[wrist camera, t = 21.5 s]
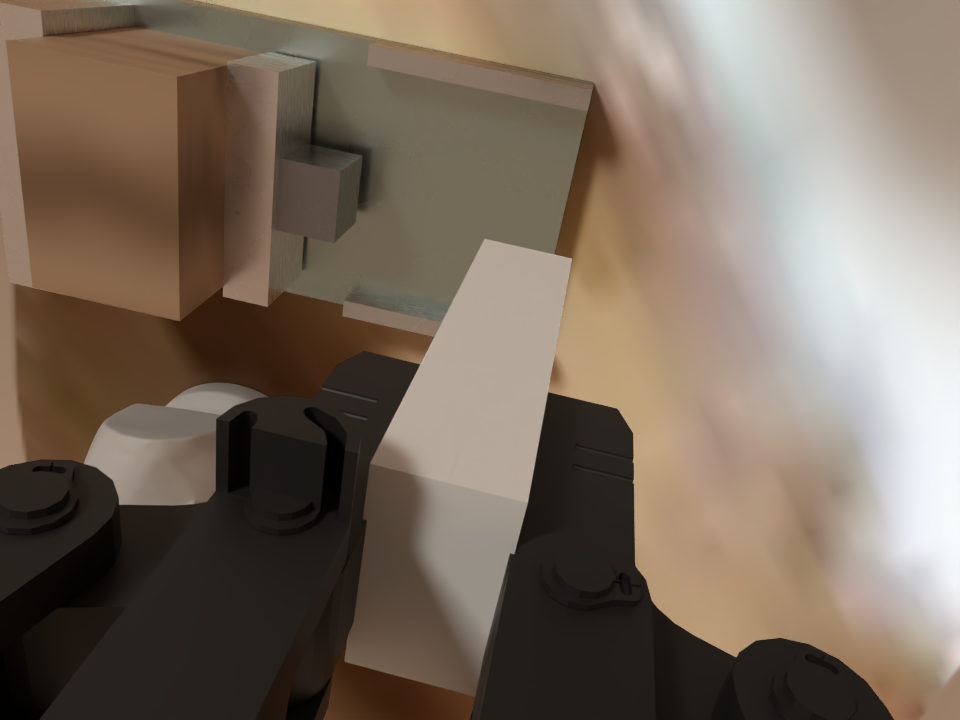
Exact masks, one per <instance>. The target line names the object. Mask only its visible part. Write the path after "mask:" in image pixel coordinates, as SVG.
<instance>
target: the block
mask: <svg viewBox="0 0 960 720" xmlns="http://www.w3.org/2000/svg"><path fill="white" fill-rule="evenodd" d="M6 47H7V56H8V65H9V75H10V84H11V93H12V102H13V112H14V121H15V130H16V139H17V149H18V158H19V167H20V176H21V186H22V195H23V204H24V213H25V223H26V232H27V241H28V250H29V260H30V269H31V278H32V287H34V288H38V289H42V290H47V291H51V292H55V293H60V294H64V295H68V296H73V297H77V298H81V299H85V300H90V301H94V302H98V303H103V304H107V305H111V306H116V307H120V308H124V309H129V310H133V311H137V312H142V313H146V314H150V315H155V316H159V317H163V318H168V319H172V320H176V321H181V320H182V319H183V318H184V317H186V316H187V315H188V314H189V313H191V312H192V311H193V310H194V309H196V308H197V307H198V306H199V305H201V304H202V303H203V302H205V301H206V300H207V299H208V298H210V297H211V296H212V295H213V294H215V293H216V292H217V291H218V290H220V289H221V288H222V287H223V261H224V205H225V148H226V92H227V61H231V60H236V59H240V58H245V57H250V56H254V55H259V54H263V53H261V52H257V51H252V50H247V49H242V48H238V47H233V46H228V45H223V44H218V43H214V42H209V41H204V40H199V39H194V38H190V37H185V36H180V35H175V34H170V33H166V32H161V31H156V30H151V29H146V28H142V27H129V28H120V29H110V30H101V31H92V32H82V33H73V34H63V35H54V36H45V37H35V38H26V39H16V40H7V41H6Z"/></svg>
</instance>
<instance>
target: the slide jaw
mask: <svg viewBox="0 0 960 720" xmlns="http://www.w3.org/2000/svg"><path fill="white" fill-rule="evenodd" d="M315 68H316V62H315V61H310V60H306V59H301V58H296V57H291V56H286V55H282V54H277V53H272V52H268V53H263V54H259V55H254V56H250V57H245V58H240V59H236V60H231V61H227V92H226V148H225V205H224V261H223V297H226V298H231V299H235V300H240V301H244V302H248V303H253V304H257V305H261V306H266V307H268V306H269V305H270V304H271V303H272V302H273V301H274V300H275V299H276V298H277V297H278V296H280V295H281V294H282V293H283V292H284V291H285V290H286V289H287V288H288V287H289V286H290V285H291V284H292V283H293V282H294V281H295V280H296V279H297V278H298V277H299V276H300V275H301V271H302V257H303V242H304V237H309V238H313V239H318V240H322V241H327V242H331V243H335V242H336V241H337V240H338V239H339V238H340V237H341V236H342V235H343V234H344V233H345V232H346V231H347V230H348V229H349V228H351V227H352V226H353V225H354V224H355V223H356V216H357V206H358V196H359V186H360V176H361V166H362V155H358V154H353V153H348V152H344V151H339V150H334V149H330V148H325V147H320V146H316V145H311V144H310V141H311V126H312V112H313V97H314V82H315Z"/></svg>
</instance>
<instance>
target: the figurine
mask: <svg viewBox="0 0 960 720" xmlns="http://www.w3.org/2000/svg"><path fill="white" fill-rule="evenodd" d="M262 397H268V396H267V395H265V394H263V393H261V392H258V391H256V390H254V389H251V388H248V387H245V386H241V385H237V384H231V383H207V384H201V385H198V386H195V387H192V388H189V389H187V390H186V391H184V392H182V393H181V394H179V395H178V396H177V397H175V398H174V399H173V400H172V401H171V402H169V403H168V404H167V405H166V406H165V407H164V406H155V405H147V404H134V405H131V406H129V407H127V408H125V409H123V410H121V411H119V412H117V413H115V414H114V415H112V416H111V417H109V418H108V419H106V420H105V421H104V422H103V423H102V425H101V427H100V428H99V430H98V432H97V434H96V436H95V438H94V440H93V442H92V445H91V447H90V449H89V452H88V454H87V457H86V459H85V462H84V464H86V465H90V466H93V467H96V468H98V469H99V470H100V471H102V472H103V473H104V474H106V475H107V476H108V477H109V478H111V479H112V480H113V482H114V485H115V488H116V491H117V494H118V497H119V505H188V504H198V503H203V502H207V501H208V500H209V499H210V497H211V496H212V495H213V493H214V492H215V491H216V419H217V418H218V417H219V416H221V415H222V414H223V413H225V412H226V411H228V410H229V409H230V408H232V407H233V406H235V405H238V404H241V403H244V402H247V401H250V400H253V399H256V398H262Z"/></svg>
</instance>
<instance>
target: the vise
mask: <svg viewBox="0 0 960 720" xmlns="http://www.w3.org/2000/svg"><path fill="white" fill-rule="evenodd" d="M129 27H142V28H146V29H151V30H156V31H161V32H166V33H170V34H175V35H180V36H185V37H190V38H194V39H199V40H204V41H209V42H214V43H218V44H223V45H228V46H233V47H238V48H242V49H247V50H252V51H257V52H261V53H268V52H272V53H277V54H282V55H286V56H291V57H296V58H301V59H306V60H310V61H315V62H316V68H315V82H314V97H313V112H312V126H311V141H310V144H311V145H316V146H320V147H325V148H330V149H334V150H339V151H344V152H348V153H353V154H358V155H362V166H361V176H360V186H359V196H358V206H357V216H356V223H355V224H354V225H353V226H352V227H351V228H349V229H348V230H347V231H346V232H345V233H344V234H343V235H342V236H341V237H340V238H339V239H338V240H337V241H336V242H335V243H331V242H327V241H322V240H318V239H313V238H309V237H304V242H303V257H302V271H301V275H300V276H299V277H298V278H297V279H296V280H295V281H294V282H293V283H292V284H291V285H290V286H289V287H288V288H287V289H286V290H285V292H289V293H293V294H298V295H302V296H307V297H311V298H315V299H320V300H324V301H329V302H333V303H337V304H342V305H343V314H342V316H344V317H348V318H353V319H357V320H361V321H366V322H370V323H375V324H379V325H383V326H388V327H392V328H397V329H401V330H405V331H410V332H414V333H419V334H423V335H427V336H432V337H435V335H436V333H437V331H438V329H439V327H440V325H441V323H442V321H443V319H444V317H445V315H446V313H447V311H448V310H449V308H450V306H451V304H452V302H453V300H454V298H455V296H456V294H457V292H458V290H459V288H460V286H461V284H462V282H463V280H464V278H465V276H466V274H467V272H468V270H469V268H470V266H471V264H472V262H473V260H474V259H475V257H476V255H477V253H478V251H479V249H480V247H481V245H482V243H483V241H484V239H488V240H492V241H497V242H501V243H506V244H510V245H515V246H519V247H523V248H528V249H532V250H537V251H541V252H545V253H550V254H555V250H556V245H557V241H558V237H559V232H560V228H561V224H562V219H563V215H564V211H565V206H566V202H567V198H568V193H569V189H570V185H571V180H572V176H573V172H574V167H575V163H576V159H577V154H578V150H579V146H580V142H581V137H582V133H583V129H584V124H585V120H586V116H587V111H588V108H589V103H590V99H591V95H592V90H593V85H594V83H593V82H588V81H583V80H578V79H573V78H569V77H564V76H559V75H554V74H549V73H544V72H539V71H534V70H530V69H525V68H520V67H515V66H510V65H505V64H500V63H496V62H491V61H486V60H481V59H476V58H471V57H466V56H461V55H457V54H452V53H447V52H442V51H437V50H432V49H427V48H422V47H418V46H413V45H408V44H403V43H398V42H393V41H388V40H384V39H379V38H374V37H369V36H364V35H359V34H354V33H349V32H345V31H340V30H335V29H330V28H325V27H320V26H315V25H311V24H306V23H301V22H296V21H291V20H286V19H281V18H276V17H272V16H267V15H262V14H257V13H252V12H247V11H242V10H237V9H233V8H228V7H223V6H218V5H213V4H208V3H203V2H199V1H194V0H0V211H1V219H2V227H3V235H4V243H5V252H6V259H7V268H8V276H9V282H11V283H15V284H19V285H24V286H28V287H32V278H31V269H30V260H29V250H28V241H27V232H26V223H25V213H24V204H23V195H22V186H21V176H20V167H19V158H18V149H17V139H16V130H15V121H14V112H13V102H12V93H11V84H10V75H9V65H8V56H7V47H6V41H7V40H16V39H26V38H35V37H45V36H54V35H63V34H73V33H82V32H92V31H101V30H110V29H120V28H129ZM32 288H34V287H32ZM37 289H38V288H37ZM41 290H42V289H41ZM45 291H47V290H45ZM50 292H51V291H50ZM54 293H55V292H54ZM58 294H60V293H58ZM63 295H64V294H63Z"/></svg>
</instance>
